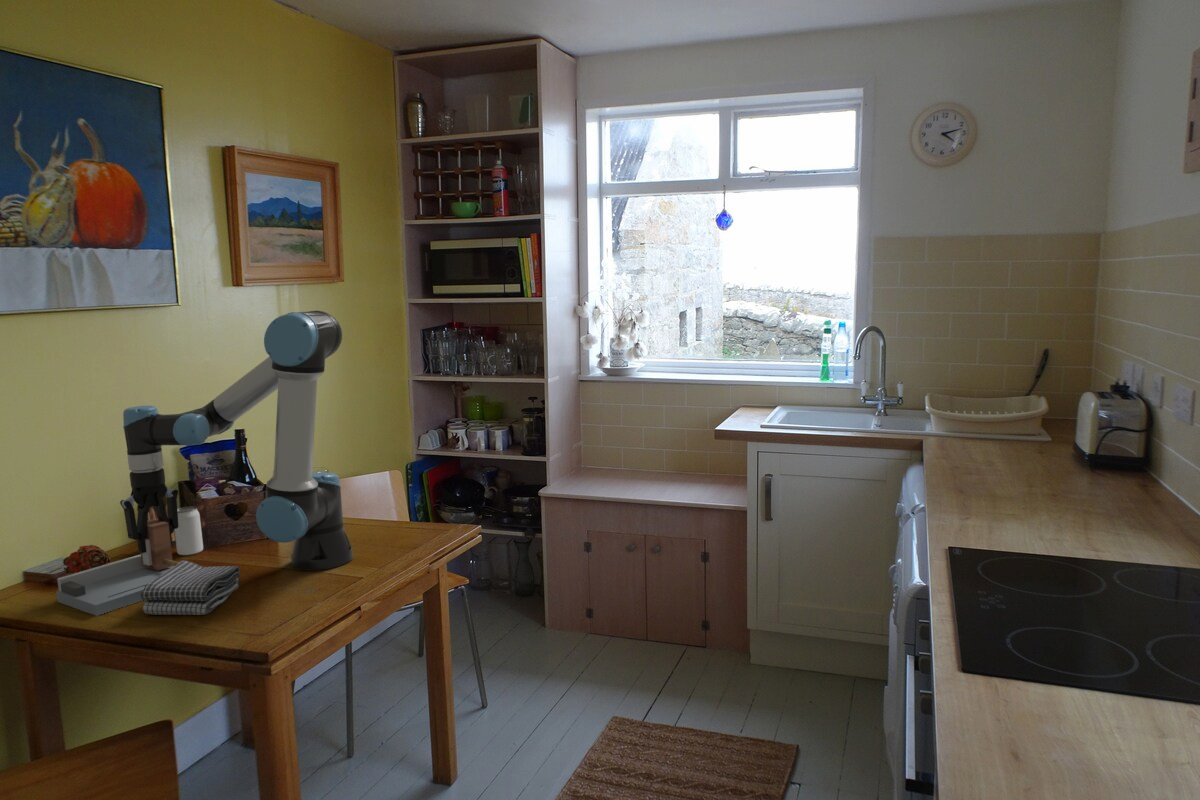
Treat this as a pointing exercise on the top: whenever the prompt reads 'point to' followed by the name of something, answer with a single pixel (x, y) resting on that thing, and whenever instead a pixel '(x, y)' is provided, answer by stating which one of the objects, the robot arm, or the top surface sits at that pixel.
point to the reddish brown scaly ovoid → (85, 559)
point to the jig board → (106, 586)
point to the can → (188, 532)
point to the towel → (189, 589)
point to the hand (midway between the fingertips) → (157, 561)
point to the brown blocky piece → (159, 545)
